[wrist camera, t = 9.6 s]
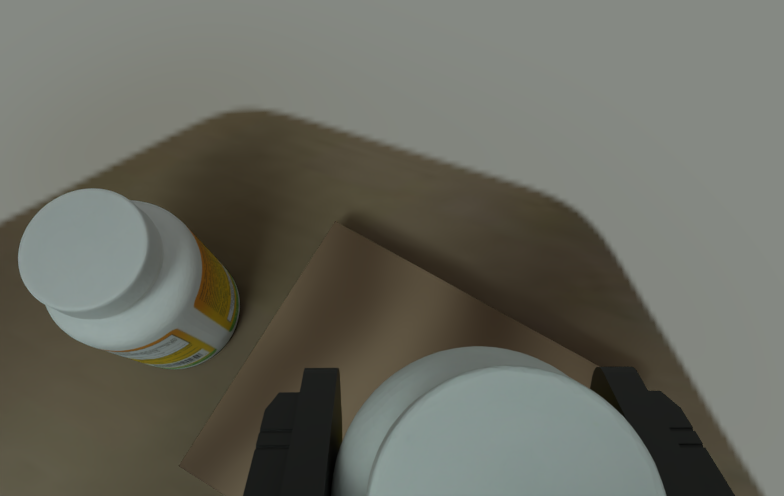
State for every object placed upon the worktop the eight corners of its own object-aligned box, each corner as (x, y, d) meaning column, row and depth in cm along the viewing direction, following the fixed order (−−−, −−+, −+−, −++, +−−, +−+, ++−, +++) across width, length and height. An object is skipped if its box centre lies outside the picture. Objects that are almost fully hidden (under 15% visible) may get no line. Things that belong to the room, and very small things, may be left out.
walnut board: (189, 464, 26) (178, 465, 24) (337, 231, 29) (335, 220, 28) (507, 667, 24) (515, 682, 22) (629, 392, 27) (642, 390, 26)
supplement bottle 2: (311, 487, 17) (219, 537, 8) (435, 342, 18) (482, 237, 9) (462, 635, 16) (560, 891, 7) (583, 469, 17) (806, 496, 8)
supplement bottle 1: (177, 232, 29) (79, 135, 20) (266, 297, 28) (208, 226, 19) (97, 325, 28) (-47, 267, 18) (189, 395, 27) (85, 371, 18)
